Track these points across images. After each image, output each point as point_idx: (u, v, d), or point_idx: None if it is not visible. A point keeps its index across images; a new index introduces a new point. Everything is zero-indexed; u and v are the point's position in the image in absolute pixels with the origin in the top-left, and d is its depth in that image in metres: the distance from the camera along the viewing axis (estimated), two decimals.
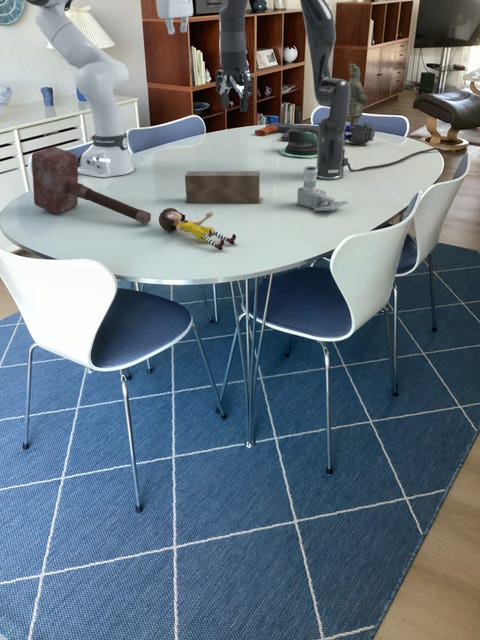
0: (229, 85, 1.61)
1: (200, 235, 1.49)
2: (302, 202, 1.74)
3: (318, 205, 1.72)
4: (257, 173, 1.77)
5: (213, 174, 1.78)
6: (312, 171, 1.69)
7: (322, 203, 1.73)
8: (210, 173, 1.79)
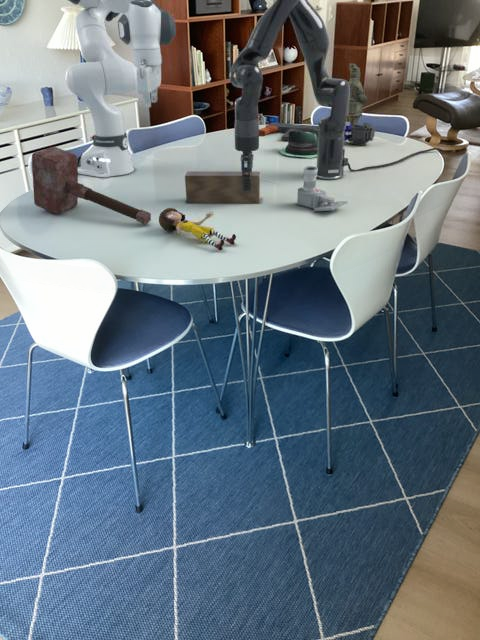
0: None
1: (200, 235, 1.49)
2: (302, 202, 1.74)
3: (318, 205, 1.72)
4: (257, 173, 1.77)
5: (213, 174, 1.78)
6: (312, 171, 1.69)
7: (322, 203, 1.73)
8: (210, 173, 1.79)
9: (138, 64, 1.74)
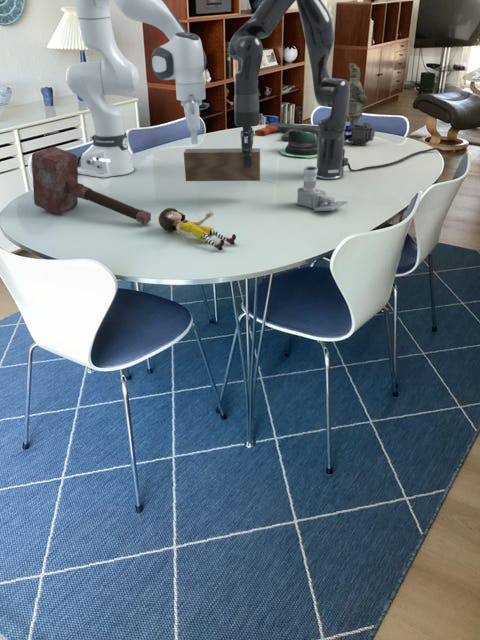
0: None
1: (200, 235, 1.49)
2: (302, 202, 1.74)
3: (318, 205, 1.72)
4: (257, 150, 1.74)
5: (213, 151, 1.74)
6: (312, 171, 1.69)
7: (322, 203, 1.73)
8: (210, 150, 1.75)
9: (184, 99, 1.64)
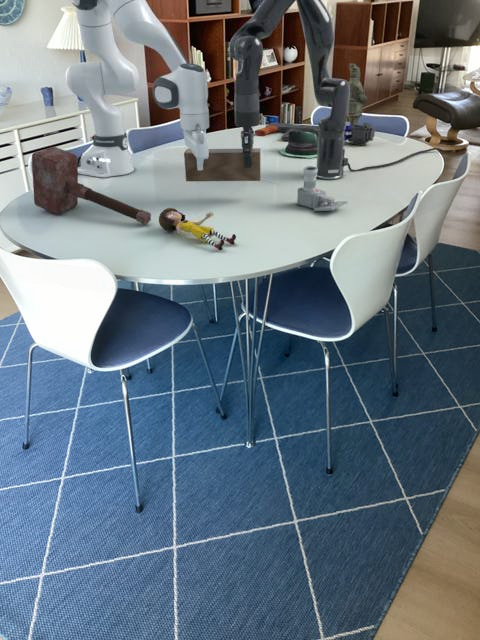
0: None
1: (200, 235, 1.49)
2: (302, 202, 1.74)
3: (318, 205, 1.72)
4: (258, 150, 1.74)
5: (213, 151, 1.74)
6: (312, 171, 1.69)
7: (322, 203, 1.73)
8: (210, 150, 1.75)
9: (191, 129, 1.68)
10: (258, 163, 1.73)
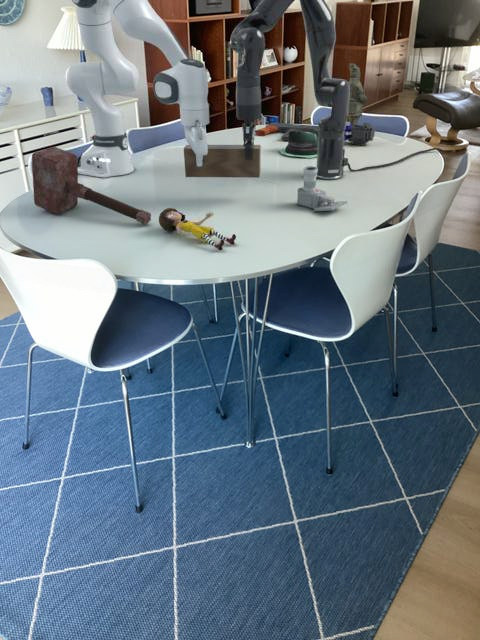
0: None
1: (200, 235, 1.49)
2: (302, 202, 1.74)
3: (318, 205, 1.72)
4: (258, 146, 1.73)
5: (213, 147, 1.74)
6: (312, 171, 1.69)
7: (322, 203, 1.73)
8: (210, 146, 1.74)
9: (190, 124, 1.67)
10: (258, 160, 1.73)
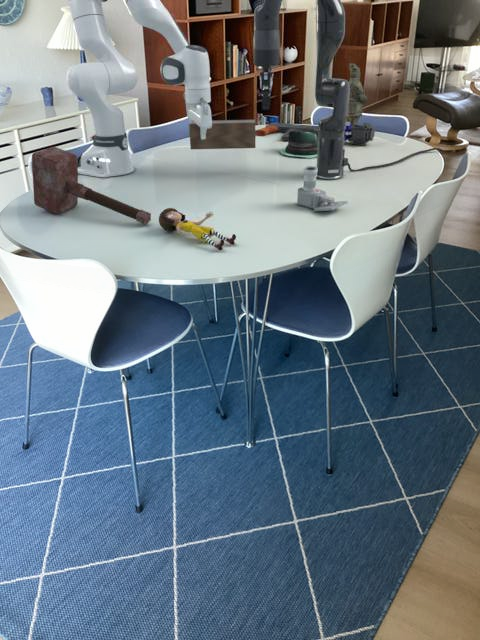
0: None
1: (200, 235, 1.49)
2: (302, 202, 1.74)
3: (318, 205, 1.72)
4: (253, 121, 2.00)
5: (214, 122, 2.00)
6: (312, 171, 1.69)
7: (322, 203, 1.73)
8: None
9: (195, 102, 1.93)
10: (254, 132, 2.00)
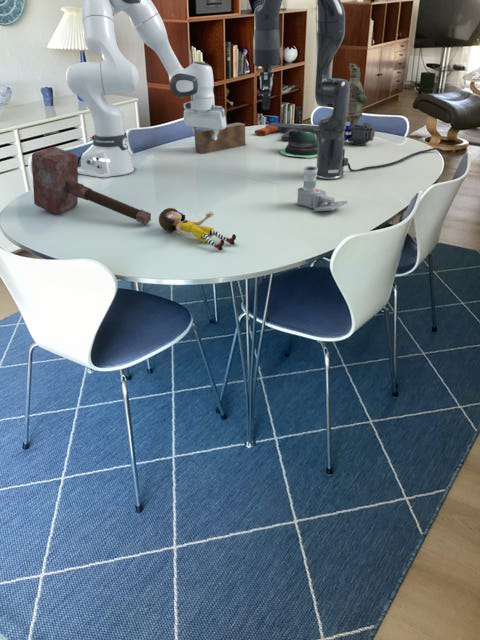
0: None
1: (200, 235, 1.49)
2: (302, 202, 1.74)
3: (318, 205, 1.72)
4: (240, 123, 2.46)
5: None
6: (312, 171, 1.69)
7: (322, 203, 1.73)
8: None
9: (208, 109, 2.28)
10: (244, 132, 2.47)
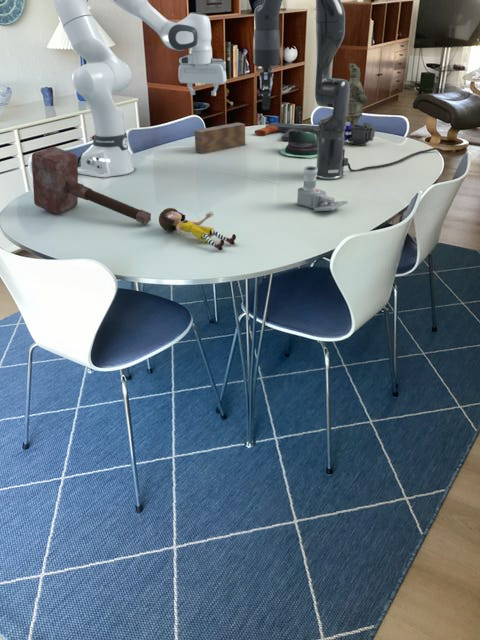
0: None
1: (200, 235, 1.49)
2: (302, 202, 1.74)
3: (318, 205, 1.72)
4: (240, 123, 2.47)
5: (216, 128, 2.39)
6: (312, 171, 1.69)
7: (322, 203, 1.73)
8: (212, 128, 2.39)
9: (208, 62, 2.20)
10: (244, 132, 2.47)
